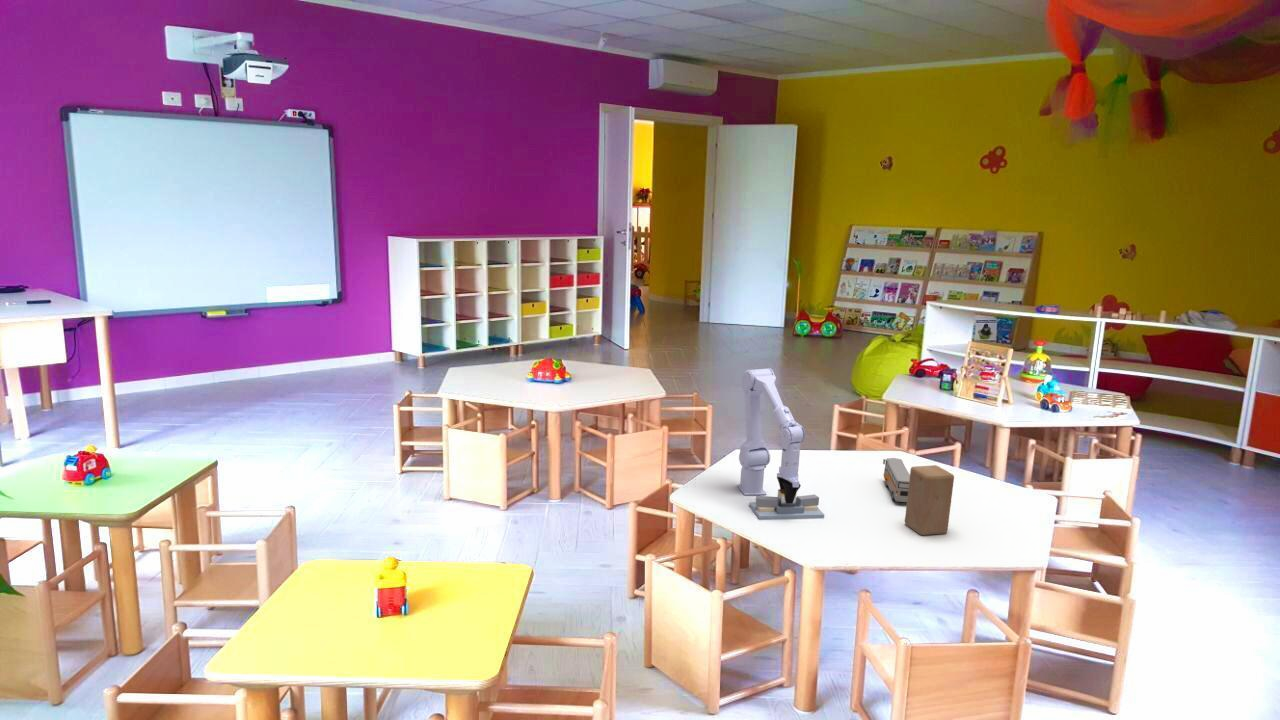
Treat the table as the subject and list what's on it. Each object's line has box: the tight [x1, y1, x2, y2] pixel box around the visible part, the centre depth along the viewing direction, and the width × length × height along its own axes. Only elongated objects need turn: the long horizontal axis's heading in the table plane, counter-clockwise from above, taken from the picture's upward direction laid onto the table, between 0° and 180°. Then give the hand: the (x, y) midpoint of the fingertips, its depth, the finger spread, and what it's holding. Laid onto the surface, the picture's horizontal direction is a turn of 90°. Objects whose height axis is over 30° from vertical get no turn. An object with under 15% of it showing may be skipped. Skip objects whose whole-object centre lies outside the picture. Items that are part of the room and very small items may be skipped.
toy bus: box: [882, 457, 910, 503], centre depth 302 cm, size 7×26×10 cm, turn 174°
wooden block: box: [904, 464, 955, 536], centre depth 270 cm, size 10×10×20 cm
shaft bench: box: [748, 494, 825, 521], centre depth 281 cm, size 12×22×5 cm, turn 99°
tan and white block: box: [776, 488, 797, 507], centre depth 280 cm, size 5×4×6 cm
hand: (787, 500), depth 281 cm, fingers closed on tan and white block, 4 cm apart
